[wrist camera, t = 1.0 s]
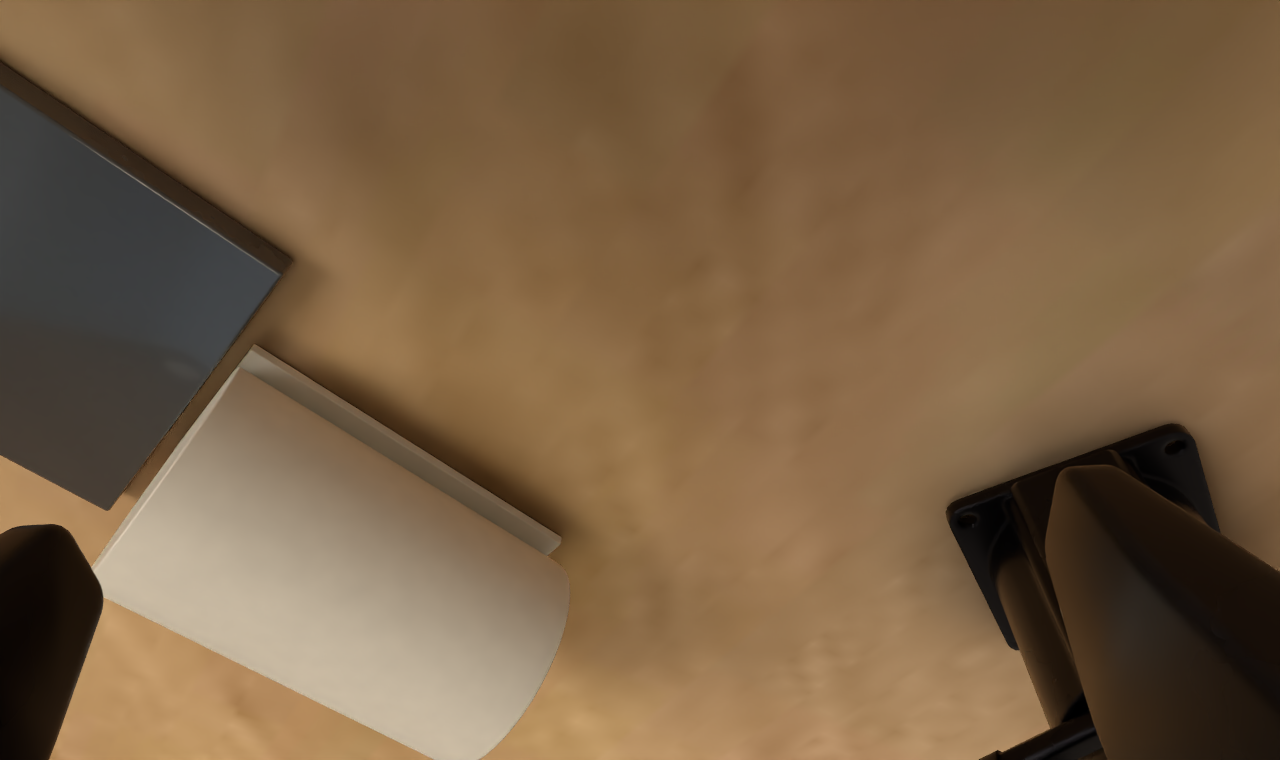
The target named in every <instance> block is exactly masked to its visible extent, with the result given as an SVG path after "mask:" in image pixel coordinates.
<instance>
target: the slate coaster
mask: <svg viewBox="0 0 1280 760" xmlns="http://www.w3.org/2000/svg"><path fill="white" fill-rule="evenodd" d="M292 262H293V261H292V259H290V258H289V257H287V256H286V255H284V254H283V253H282V252H280V251H279V250H277V249H276V248H274V247H273V246H271V245H270V244H268V243H267V242H265V241H264V240H262V239H261V238H259V237H258V236H256V235H255V234H253V233H252V232H250V231H249V230H248V229H246V228H245V227H243V226H242V225H240V224H239V223H237V222H236V221H234V220H233V219H231V218H230V217H228V216H227V215H225V214H224V213H222V212H221V211H219V210H218V209H217V208H215V207H214V206H212V205H211V204H209V203H208V202H206V201H205V200H203V199H202V198H200V197H199V196H197V195H196V194H194V193H193V192H191V191H190V190H188V189H187V188H185V187H184V186H183V185H181V184H180V183H178V182H177V181H175V180H174V179H172V178H171V177H169V176H168V175H166V174H165V173H163V172H162V171H160V170H159V169H157V168H156V167H154V166H153V165H152V164H150V163H149V162H147V161H146V160H144V159H143V158H141V157H140V156H138V155H137V154H135V153H134V152H132V151H131V150H129V149H128V148H126V147H125V146H123V145H122V144H120V143H119V142H118V141H116V140H115V139H113V138H112V137H110V136H109V135H107V134H106V133H104V132H103V131H101V130H100V129H98V128H97V127H95V126H94V125H92V124H91V123H89V122H88V121H87V120H85V119H84V118H82V117H81V116H79V115H78V114H76V113H75V112H73V111H72V110H70V109H69V108H67V107H66V106H64V105H63V104H61V103H60V102H58V101H57V100H55V99H54V98H53V97H51V96H50V95H48V94H47V93H45V92H44V91H42V90H41V89H39V88H38V87H36V86H35V85H33V84H32V83H30V82H29V81H27V80H26V79H24V78H23V77H21V76H20V75H19V74H17V73H16V72H14V71H13V70H11V69H10V68H8V67H7V66H5V65H4V64H2V63H1V62H0V455H1V456H3V457H5V458H7V459H9V460H10V461H12V462H14V463H16V464H18V465H20V466H22V467H24V468H26V469H28V470H29V471H31V472H33V473H35V474H37V475H39V476H41V477H43V478H45V479H47V480H48V481H50V482H52V483H54V484H56V485H58V486H60V487H62V488H64V489H66V490H67V491H69V492H71V493H73V494H75V495H77V496H79V497H81V498H83V499H85V500H86V501H88V502H90V503H92V504H94V505H96V506H98V507H100V508H102V509H104V510H106V511H108V510H110V509H111V508H112V506H113V505H114V504H115V502H116V501H117V500H118V498H119V497H120V496H121V494H122V493H123V492H124V490H125V489H126V488H127V486H128V485H129V484H130V482H131V481H132V480H133V478H134V477H135V476H136V474H137V473H138V471H139V470H140V469H141V467H142V466H143V465H144V463H145V462H146V461H147V459H148V458H149V457H150V455H151V454H152V453H153V451H154V450H155V449H156V447H157V446H158V445H159V443H160V442H161V441H162V439H163V438H164V436H165V435H166V434H167V432H168V431H169V430H170V428H171V427H172V426H173V424H174V423H175V422H176V420H177V419H178V418H179V416H180V415H181V414H182V412H183V411H184V410H185V408H186V407H187V406H188V404H189V403H190V402H191V400H192V399H193V397H194V396H195V395H196V393H197V392H198V391H199V389H200V388H201V387H202V385H203V384H204V383H205V381H206V380H207V379H208V377H209V376H210V375H211V373H212V372H213V371H214V369H215V368H216V367H217V365H218V364H219V362H220V361H221V360H222V358H223V357H224V356H225V354H226V353H227V352H228V350H229V349H230V348H231V346H232V345H233V344H234V342H235V341H236V340H237V338H238V337H239V336H240V334H241V333H242V332H243V330H244V329H245V327H246V326H247V325H248V323H249V322H250V321H251V319H252V318H253V317H254V315H255V314H256V313H257V311H258V310H259V309H260V307H261V306H262V305H263V303H264V302H265V301H266V299H267V298H268V297H269V295H270V294H271V293H272V291H273V290H274V288H275V287H276V286H277V284H278V283H279V282H280V280H281V279H282V278H283V276H284V275H285V274H286V272H287V271H288V269H289V268H290V267H291V265H292Z"/></svg>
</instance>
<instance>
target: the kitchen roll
mask: <svg viewBox="0 0 1280 760" xmlns="http://www.w3.org/2000/svg"><path fill="white" fill-rule="evenodd" d="M560 544H561V537H560V536H559V535H557V534H555V533H554V532H552V531H551V530H549V529H548V528H546V527H544V526H543V525H541V524H540V523H538V522H536V521H535V520H533V519H532V518H530V517H528V516H527V515H525V514H524V513H522V512H521V511H519V510H517V509H516V508H514V507H513V506H511V505H509V504H508V503H506V502H505V501H503V500H502V499H500V498H498V497H497V496H495V495H494V494H492V493H490V492H489V491H487V490H486V489H484V488H482V487H481V486H479V485H478V484H476V483H475V482H473V481H471V480H470V479H468V478H467V477H465V476H463V475H462V474H460V473H459V472H457V471H456V470H454V469H452V468H451V467H449V466H448V465H446V464H444V463H443V462H441V461H440V460H438V459H436V458H435V457H433V456H432V455H430V454H429V453H427V452H425V451H424V450H422V449H421V448H419V447H417V446H416V445H414V444H413V443H411V442H410V441H408V440H406V439H405V438H403V437H402V436H400V435H398V434H397V433H395V432H394V431H392V430H390V429H389V428H387V427H386V426H384V425H383V424H381V423H379V422H378V421H376V420H375V419H373V418H371V417H370V416H368V415H367V414H365V413H364V412H362V411H360V410H359V409H357V408H356V407H354V406H352V405H351V404H349V403H348V402H346V401H344V400H343V399H341V398H340V397H338V396H337V395H335V394H333V393H332V392H330V391H329V390H327V389H325V388H324V387H322V386H321V385H319V384H318V383H316V382H314V381H313V380H311V379H310V378H308V377H306V376H305V375H303V374H302V373H300V372H298V371H297V370H295V369H294V368H292V367H291V366H289V365H287V364H286V363H284V362H283V361H281V360H279V359H278V358H276V357H275V356H273V355H272V354H270V353H268V352H267V351H265V350H264V349H262V348H260V347H259V346H257V345H256V344H254V345H253V346H252V347H251V348H250V350H249V351H248V352H247V354H246V355H245V356H244V358H243V359H242V360H241V361H240V363H239V364H238V365H237V367H236V368H235V369H234V371H233V372H232V373H231V375H230V376H229V377H228V379H227V380H226V381H225V383H224V384H223V385H222V387H221V388H220V389H219V390H218V392H217V393H216V394H215V396H214V397H213V398H212V400H211V401H210V402H209V404H208V405H207V406H206V408H205V409H204V410H203V412H202V413H201V414H200V416H199V417H198V418H197V419H196V421H195V422H194V423H193V425H192V426H191V427H190V429H189V430H188V431H187V433H186V434H185V435H184V437H183V438H182V439H181V441H180V442H179V443H178V445H177V446H176V447H175V449H174V451H173V453H172V454H171V455H170V457H169V458H168V459H167V461H166V462H165V464H164V465H163V466H162V468H161V469H160V470H159V472H158V473H157V475H156V476H155V477H154V479H153V480H152V482H151V483H150V484H149V486H148V487H147V489H146V490H145V491H144V493H143V494H142V496H141V497H140V498H139V500H138V501H137V503H136V504H135V505H134V507H133V508H132V510H131V511H130V512H129V514H128V515H127V517H126V518H125V519H124V521H123V522H122V524H121V525H120V527H119V528H118V529H117V531H116V532H115V534H114V535H113V537H112V538H111V539H110V541H109V542H108V544H107V545H106V547H105V548H104V550H103V551H102V553H101V554H100V555H99V557H98V558H97V560H96V561H95V563H94V564H93V566H92V567H91V568H92V570H93V572H94V573H95V575H96V577H97V579H98V580H99V582H100V584H101V587H102V591H103V597H105V598H107V599H109V600H111V601H113V602H115V603H117V604H119V605H121V606H123V607H125V608H127V609H129V610H131V611H133V612H135V613H137V614H139V615H141V616H143V617H145V618H147V619H149V620H151V621H153V622H155V623H157V624H159V625H161V626H164V627H166V628H168V629H170V630H172V631H174V632H176V633H178V634H180V635H182V636H184V637H186V638H188V639H190V640H192V641H194V642H196V643H198V644H200V645H202V646H204V647H206V648H208V649H210V650H212V651H214V652H216V653H218V654H220V655H222V656H225V657H227V658H229V659H231V660H233V661H235V662H237V663H239V664H241V665H243V666H245V667H247V668H249V669H251V670H253V671H255V672H257V673H259V674H261V675H263V676H265V677H267V678H269V679H271V680H273V681H275V682H277V683H279V684H281V685H284V686H286V687H288V688H290V689H292V690H294V691H296V692H298V693H300V694H302V695H304V696H306V697H308V698H310V699H312V700H314V701H316V702H318V703H320V704H322V705H324V706H326V707H328V708H330V709H332V710H334V711H336V712H338V713H340V714H342V715H345V716H347V717H349V718H351V719H353V720H355V721H357V722H359V723H361V724H363V725H365V726H367V727H369V728H371V729H373V730H375V731H377V732H379V733H381V734H383V735H385V736H387V737H389V738H391V739H393V740H395V741H397V742H399V743H401V744H404V745H406V746H408V747H410V748H412V749H414V750H416V751H418V752H420V753H422V754H424V755H426V756H428V757H430V758H432V759H434V760H479V759H481V758H482V757H484V756H485V755H486V754H488V753H489V752H490V751H491V750H492V749H494V748H495V747H496V746H497V745H498V744H499V743H500V742H501V741H502V740H503V739H504V738H505V736H506V735H507V734H508V733H509V732H510V731H511V729H512V728H513V727H514V726H515V724H516V723H517V722H518V720H519V719H520V718H521V716H522V715H523V714H524V712H525V711H526V709H527V708H528V706H529V705H530V703H531V702H532V700H533V698H534V697H535V695H536V693H537V692H538V690H539V688H540V686H541V684H542V683H543V681H544V679H545V677H546V675H547V673H548V671H549V669H550V666H551V664H552V662H553V660H554V657H555V655H556V652H557V650H558V647H559V644H560V642H561V639H562V635H563V632H564V629H565V625H566V621H567V617H568V611H569V604H570V583H569V579H568V575H567V573H566V571H565V569H564V568H563V567H562V566H561V565H560V564H559V563H557V562H556V561H554V560H552V559H551V558H549V557H547V556H548V555H549V554H550V553H551V552H552V551H553V550H555V549H556V548H557V547H558V546H559V545H560Z"/></svg>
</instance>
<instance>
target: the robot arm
mask: <svg viewBox="0 0 1280 760" xmlns="http://www.w3.org/2000/svg"><path fill="white" fill-rule="evenodd" d="M1176 440H1177V441H1176ZM1172 441H1176V442H1175V443H1173V444H1172V445H1170V446H1166V445H1167V444H1168V443H1170V442H1172ZM968 514H971V515H970V516H969V517H967V518H961V517H962V516H964V515H968ZM946 517H947V520H948V523H949V525H950V528H951V530H952V532H953V534H954V536H955V538H956V540H957V542H958V544H959V546H960V548H961V550H962V552H963V554H964V556H965V558H966V561H967V563H968V565H969V567H970V569H971V571H972V573H973V575H974V577H975V579H976V581H977V583H978V585H979V587H980V589H981V591H982V593H983V595H984V597H985V599H986V601H987V603H988V605H989V607H990V609H991V611H992V613H993V615H994V617H995V619H996V621H997V624H998V626H999V628H1000V630H1001V632H1002V634H1003V636H1004V638H1005V640H1006V642H1007V644H1008V645H1009V646H1010V648H1012V649H1014V650H1020V652H1021V655H1022V657H1023V660H1024V662H1025V665H1026V668H1027V670H1028V673H1029V675H1030V678H1031V680H1032V683H1033V685H1034V688H1035V691H1036V693H1037V696H1038V698H1039V701H1040V703H1041V706H1042V708H1043V711H1044V714H1045V716H1046V719H1047V721H1048V724H1049V726H1050V729H1049V730H1047V731H1045V732H1043V733H1041V734H1039V735H1037V736H1035V737H1032V738H1030V739H1028V740H1026V741H1024V742H1022V743H1020V744H1018V745H1016V746H1014V747H1012V748H1010V749H1008V750H1006V751H1004V752H1001V751H999V750H997V751H995V752H993V753H991V754H989V755H987V756H985V757H983V758H981V759H979V760H1280V572H1279V571H1278V570H1276V569H1274V568H1273V567H1271V566H1270V565H1268V564H1267V563H1265V562H1264V561H1262V560H1260V559H1259V558H1257V557H1256V556H1254V555H1253V554H1251V553H1250V552H1248V551H1246V550H1245V549H1243V548H1242V547H1240V546H1239V545H1237V544H1236V543H1234V542H1233V541H1231V540H1229V539H1228V538H1226V537H1225V536H1223V535H1222V534H1221V533H1220V529H1219V526H1218V522H1217V518H1216V515H1215V511H1214V508H1213V504H1212V501H1211V497H1210V493H1209V490H1208V486H1207V483H1206V479H1205V475H1204V472H1203V468H1202V465H1201V461H1200V458H1199V454H1198V450H1197V447H1196V443H1195V440H1194V439H1193V437H1192V436H1191V435H1190V433H1189V432H1188V431H1187V429H1186V428H1185V427H1184V426H1182V425H1180V424H1167V425H1163V426H1160V427H1157V428H1155V429H1152V430H1149V431H1146V432H1144V433H1141V434H1138V435H1135V436H1133V437H1130V438H1127V439H1124V440H1121V441H1119V442H1116V443H1113V444H1110V445H1108V446H1105V447H1102V448H1099V449H1097V450H1094V451H1091V452H1088V453H1085V454H1083V455H1080V456H1077V457H1074V458H1072V459H1069V460H1066V461H1063V462H1061V463H1058V464H1055V465H1052V466H1049V467H1047V468H1044V469H1041V470H1038V471H1036V472H1033V473H1030V474H1027V475H1024V476H1022V477H1019V478H1016V479H1013V480H1011V481H1008V482H1005V483H1002V484H1000V485H997V486H994V487H991V488H988V489H986V490H983V491H980V492H977V493H975V494H972V495H969V496H966V497H964V498H961V499H958V500H956V501H954V502H952V503H951V504H950V505H949V506H948V508H947V510H946ZM102 608H103V591H102V587H101V584H100V582H99V580H98V579H97V577H96V575H95V573H94V572H93V570H92V568H91V567H90V565H89V563H88V562H87V560H86V558H85V556H84V555H83V553H82V551H81V550H80V548H79V546H78V545H77V543H76V541H75V539H74V538H73V536H72V535H71V533H70V532H69V531H68V530H66V529H65V528H63V527H62V526H59V525H55V524H45V525H27V526H19V527H15V528H11V529H9V530H7V531H5V532H4V533H2V534H0V760H49V758H50V755H51V753H52V750H53V748H54V745H55V742H56V740H57V737H58V734H59V731H60V729H61V726H62V723H63V720H64V717H65V714H66V712H67V709H68V706H69V703H70V700H71V697H72V695H73V692H74V689H75V686H76V683H77V680H78V678H79V675H80V672H81V669H82V666H83V663H84V661H85V658H86V655H87V652H88V649H89V646H90V644H91V641H92V638H93V635H94V632H95V629H96V627H97V624H98V621H99V618H100V615H101V612H102Z"/></svg>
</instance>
